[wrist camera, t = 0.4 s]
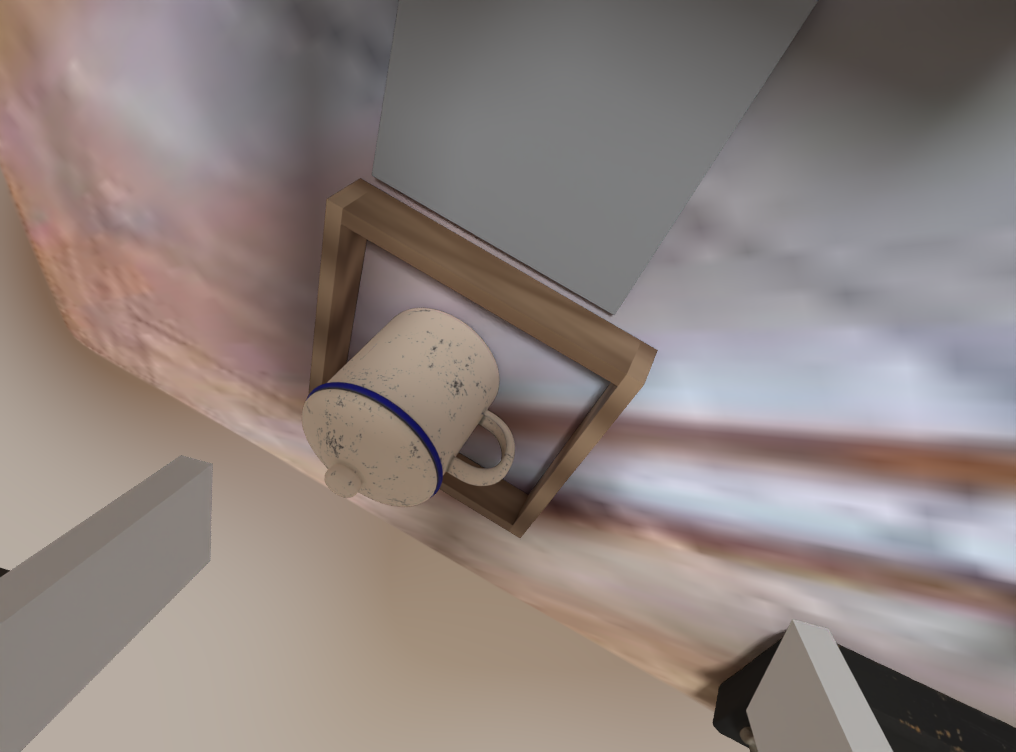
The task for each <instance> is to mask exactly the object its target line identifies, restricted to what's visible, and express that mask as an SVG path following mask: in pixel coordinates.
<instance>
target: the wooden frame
mask: <svg viewBox="0 0 1016 752" xmlns="http://www.w3.org/2000/svg"><path fill="white" fill-rule="evenodd" d="M367 240H369V241H371V242H372V243H374V244H376V245H378V246H379V247H381V248H383V249H384V250H386V251H388V252H389V253H391V254H393V255H395V256H396V257H398V258H400V259H401V260H403V261H405V262H407V263H408V264H410V265H412V266H413V267H415V268H417V269H418V270H420V271H422V272H424V273H425V274H427V275H429V276H430V277H432V278H434V279H436V280H437V281H439V282H441V283H442V284H444V285H446V286H447V287H449V288H451V289H453V290H454V291H456V292H458V293H459V294H461V295H463V296H465V297H466V298H468V299H470V300H471V301H473V302H475V303H476V304H478V305H480V306H482V307H483V308H485V309H487V310H488V311H490V312H492V313H494V314H495V315H497V316H499V317H500V318H502V319H504V320H505V321H507V322H509V323H511V324H512V325H514V326H516V327H517V328H519V329H521V330H523V331H524V332H526V333H528V334H529V335H531V336H533V337H534V338H536V339H538V340H540V341H541V342H543V343H545V344H546V345H548V346H550V347H552V348H553V349H555V350H557V351H558V352H560V353H562V354H563V355H565V356H567V357H569V358H570V359H572V360H574V361H575V362H577V363H579V364H581V365H582V366H584V367H586V368H587V369H589V370H591V371H592V372H594V373H596V374H598V375H599V376H601V377H603V378H604V379H606V380H608V381H610V382H611V383H610V385H609V386H608V387H607V389H606V390H605V391H604V393H603V394H602V395H601V397H600V398H599V400H598V401H597V402H596V404H595V405H594V406H593V408H592V409H591V410H590V412H589V413H588V415H587V416H586V417H585V419H584V420H583V421H582V423H581V424H580V426H579V427H578V428H577V430H576V431H575V432H574V434H573V435H572V436H571V438H570V439H569V441H568V442H567V443H566V445H565V446H564V447H563V449H562V450H561V451H560V453H559V454H558V456H557V457H556V458H555V460H554V461H553V462H552V464H551V465H550V466H549V468H548V469H547V471H546V472H545V473H544V475H543V476H542V477H541V479H540V480H539V481H538V483H537V484H536V486H535V487H534V488H533V490H532V491H531V492H530V494H529V495H527V494H526V493H524V492H523V491H521V490H519V489H518V488H516V487H514V486H513V485H511V484H509V483H508V482H506V481H504V480H503V479H501V480H500V481H499V482H497V483H495V484H492V485H487V486H476V485H471V484H468V483H466V482H463V481H461V480H460V479H458V478H456V477H454V476H453V475H451V474H449V473H448V472H445V474H444V475H443V480H442V484H441V486H440V488H439V489H441V490H442V491H444V492H445V493H447V494H449V495H450V496H452V497H454V498H455V499H457V500H458V501H460V502H462V503H463V504H465V505H467V506H468V507H470V508H471V509H473V510H475V511H476V512H478V513H480V514H481V515H483V516H485V517H486V518H488V519H489V520H491V521H493V522H494V523H496V524H498V525H499V526H501V527H502V528H504V529H506V530H507V531H509V532H511V533H512V534H514V535H515V536H517V537H519V538H521V537H522V535H523V534H524V533H525V532H526V530H527V529H528V528H529V527H530V526H531V524H532V523H533V522H534V521H535V519H536V518H537V517H538V516H539V514H540V513H541V512H542V511H543V509H544V508H545V507H546V506H547V504H548V503H549V502H550V501H551V499H552V498H553V497H554V496H555V495H556V493H557V492H558V491H559V490H560V488H561V487H562V486H563V485H564V483H565V482H566V481H567V480H568V478H569V477H570V476H571V475H572V473H573V472H574V471H575V470H576V468H577V467H578V466H579V465H580V464H581V462H582V461H583V460H584V459H585V457H586V456H587V455H588V454H589V452H590V451H591V450H592V449H593V447H594V446H595V445H596V444H597V442H598V441H599V440H600V439H601V437H602V436H603V435H604V434H605V433H606V431H607V430H608V429H609V428H610V426H611V425H612V424H613V423H614V421H615V420H616V419H617V418H618V416H619V415H620V414H621V413H622V411H623V410H624V409H625V408H626V406H627V405H628V404H629V403H630V402H631V400H632V399H633V398H634V397H635V395H636V394H637V393H638V392H639V390H640V389H641V388H642V387H643V385H644V384H645V381H646V379H647V376H648V374H649V371H650V369H651V366H652V363H653V361H654V358H655V356H656V353H657V351H658V350H656V349H654V348H653V347H651V346H649V345H647V344H646V343H644V342H642V341H641V340H639V339H637V338H635V337H634V336H632V335H630V334H628V333H627V332H625V331H623V330H622V329H620V328H618V327H616V326H615V325H613V324H611V323H609V322H608V321H606V320H604V319H603V318H601V317H599V316H597V315H596V314H594V313H592V312H590V311H589V310H587V309H585V308H584V307H582V306H580V305H578V304H577V303H575V302H573V301H571V300H570V299H568V298H566V297H565V296H563V295H561V294H559V293H558V292H556V291H554V290H552V289H551V288H549V287H547V286H546V285H544V284H542V283H540V282H539V281H537V280H535V279H533V278H532V277H530V276H528V275H526V274H525V273H523V272H521V271H520V270H518V269H516V268H514V267H513V266H511V265H509V264H507V263H506V262H504V261H502V260H501V259H499V258H497V257H495V256H494V255H492V254H490V253H488V252H487V251H485V250H483V249H482V248H480V247H478V246H476V245H475V244H473V243H471V242H469V241H468V240H466V239H464V238H463V237H461V236H459V235H457V234H456V233H454V232H452V231H450V230H449V229H447V228H445V227H444V226H442V225H440V224H438V223H437V222H435V221H433V220H431V219H430V218H428V217H426V216H425V215H423V214H421V213H419V212H418V211H416V210H414V209H412V208H411V207H409V206H407V205H406V204H404V203H402V202H400V201H399V200H397V199H395V198H393V197H392V196H390V195H388V194H387V193H385V192H383V191H381V190H380V189H378V188H376V187H374V186H373V185H371V184H369V183H367V182H366V181H364V180H362V179H361V178H360V179H359V180H357V181H355V182H354V183H352V184H350V185H349V186H347V187H345V188H344V189H342V190H341V191H339V192H337V193H336V194H334V195H332V196H331V197H329V198H327V200H326V211H325V222H324V233H323V244H322V254H321V265H320V276H319V287H318V298H317V309H316V319H315V330H314V341H313V352H312V363H311V374H310V385H309V394H310V392H311V391H312V390H313V389H315V388H316V387H318V386H320V385H322V384H325V383H327V382H328V381H329V380H330V379H331V378H332V377H333V376H334V375H335V374H336V373H337V372H338V371H339V370H340V369H342V368H343V367H344V366H345V365H346V364H347V358H348V352H349V345H350V339H351V333H352V327H353V321H354V315H355V309H356V303H357V297H358V290H359V284H360V278H361V272H362V266H363V260H364V254H365V248H366V242H367ZM456 457H457V458H459V459H460V460H462V461H464V462H465V463H467V464H469V465H471V466H474V467H477V468H482V469H485V468H483V467H481V466H480V465H478V464H476V463H475V462H473V461H472V460H470V459H468V458H467V457H465V456H463V455H462V454H460V453H458V454H457V456H456Z"/></svg>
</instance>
